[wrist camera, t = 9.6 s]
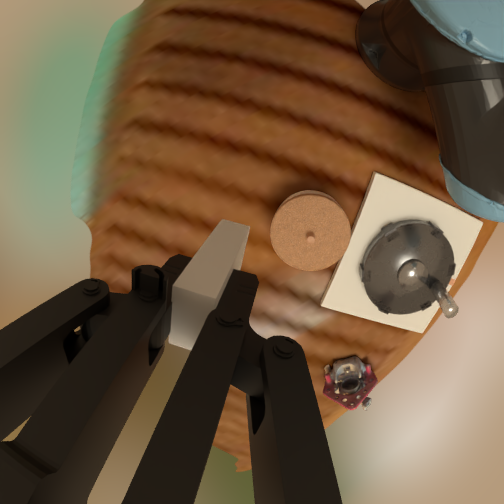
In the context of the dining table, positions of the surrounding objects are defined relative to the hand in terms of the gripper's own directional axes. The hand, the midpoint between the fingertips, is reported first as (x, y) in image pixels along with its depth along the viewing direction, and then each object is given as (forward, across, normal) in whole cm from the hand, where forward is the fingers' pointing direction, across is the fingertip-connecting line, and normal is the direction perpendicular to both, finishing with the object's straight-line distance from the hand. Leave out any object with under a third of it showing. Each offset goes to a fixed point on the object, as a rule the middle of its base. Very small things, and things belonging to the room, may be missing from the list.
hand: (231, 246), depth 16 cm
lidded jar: (+31, +7, -7) cm, 32 cm away
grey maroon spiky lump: (+31, +26, -36) cm, 54 cm away
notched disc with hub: (+28, +25, -9) cm, 39 cm away
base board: (+30, +25, -9) cm, 40 cm away
